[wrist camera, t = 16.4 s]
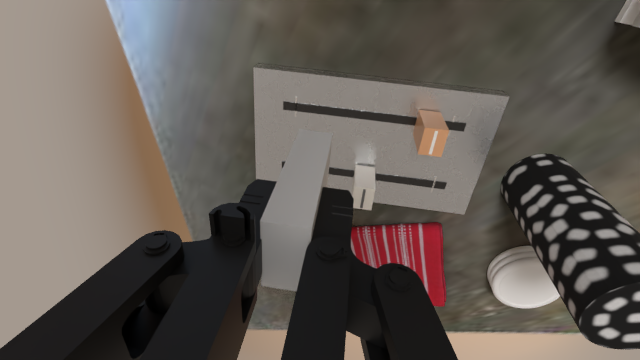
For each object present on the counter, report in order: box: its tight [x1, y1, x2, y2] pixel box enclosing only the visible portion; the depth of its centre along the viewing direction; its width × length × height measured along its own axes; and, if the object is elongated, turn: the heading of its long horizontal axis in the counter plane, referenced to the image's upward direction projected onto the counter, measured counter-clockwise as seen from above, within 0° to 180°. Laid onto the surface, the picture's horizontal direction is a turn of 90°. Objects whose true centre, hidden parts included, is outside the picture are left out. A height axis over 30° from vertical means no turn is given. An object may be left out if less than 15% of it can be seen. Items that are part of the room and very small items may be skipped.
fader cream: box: [352, 165, 375, 210], centre depth 42 cm, size 3×2×5 cm
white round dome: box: [487, 246, 560, 308], centre depth 51 cm, size 10×10×4 cm
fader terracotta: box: [413, 110, 449, 157], centre depth 37 cm, size 3×2×5 cm
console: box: [253, 63, 509, 215], centre depth 43 cm, size 16×28×2 cm, turn 85°
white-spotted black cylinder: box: [501, 154, 640, 349], centre depth 36 cm, size 8×8×20 cm
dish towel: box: [351, 222, 446, 306], centre depth 55 cm, size 17×24×3 cm
